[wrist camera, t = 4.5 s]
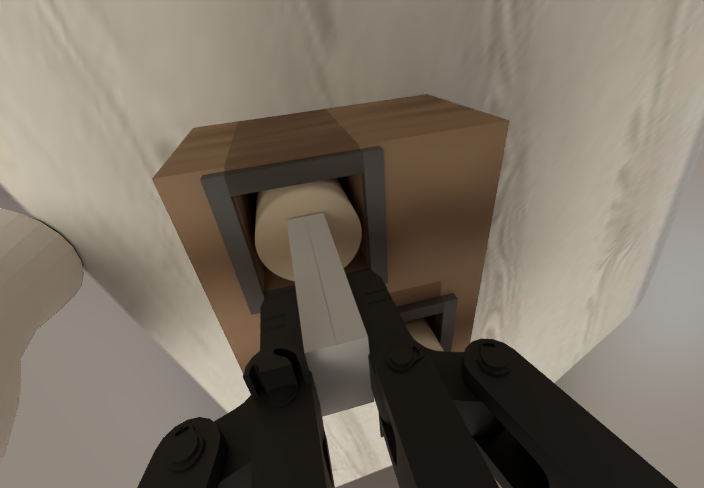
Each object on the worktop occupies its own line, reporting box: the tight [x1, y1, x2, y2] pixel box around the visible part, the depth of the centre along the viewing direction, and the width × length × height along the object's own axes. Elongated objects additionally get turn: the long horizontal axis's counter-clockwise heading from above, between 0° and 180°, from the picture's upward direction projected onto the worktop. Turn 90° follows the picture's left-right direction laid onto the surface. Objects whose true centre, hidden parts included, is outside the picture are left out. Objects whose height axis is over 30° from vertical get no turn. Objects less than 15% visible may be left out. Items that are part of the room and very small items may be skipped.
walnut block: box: [152, 95, 509, 374], centre depth 20 cm, size 16×14×8 cm
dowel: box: [255, 178, 362, 281], centre depth 17 cm, size 4×4×8 cm
